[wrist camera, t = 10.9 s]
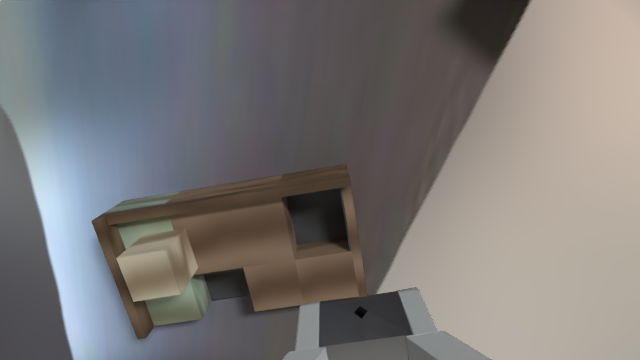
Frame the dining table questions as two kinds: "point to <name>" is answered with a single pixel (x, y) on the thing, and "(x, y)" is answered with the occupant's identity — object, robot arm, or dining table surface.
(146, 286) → the maple block
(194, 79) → the dining table surface
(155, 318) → the board
